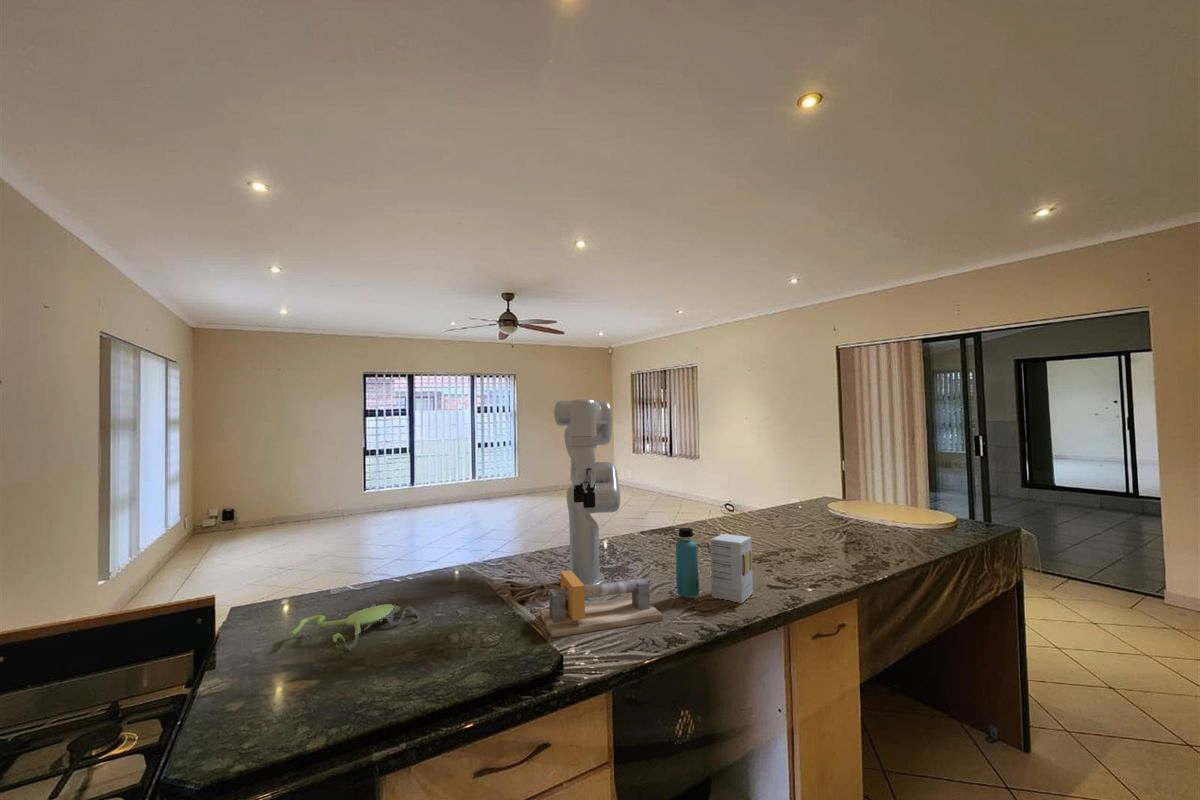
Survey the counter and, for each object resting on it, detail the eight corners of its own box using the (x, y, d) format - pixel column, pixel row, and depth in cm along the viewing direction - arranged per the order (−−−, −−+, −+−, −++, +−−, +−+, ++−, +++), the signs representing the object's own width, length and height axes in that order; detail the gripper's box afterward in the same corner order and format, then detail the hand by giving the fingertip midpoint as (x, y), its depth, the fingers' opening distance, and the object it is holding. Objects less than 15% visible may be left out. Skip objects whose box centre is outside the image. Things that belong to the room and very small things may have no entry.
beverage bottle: (699, 603, 129) (697, 531, 130) (675, 602, 130) (674, 530, 131) (699, 595, 135) (697, 526, 136) (676, 593, 136) (675, 525, 138)
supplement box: (742, 605, 127) (740, 543, 128) (711, 598, 133) (709, 538, 134) (753, 594, 135) (751, 536, 136) (723, 588, 140) (722, 532, 141)
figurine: (281, 647, 107) (282, 623, 107) (384, 607, 130) (384, 587, 131) (328, 665, 98) (328, 638, 98) (429, 619, 121) (429, 597, 122)
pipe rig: (540, 615, 122) (540, 582, 123) (640, 601, 131) (640, 570, 132) (551, 637, 109) (551, 600, 109) (662, 620, 118) (661, 585, 118)
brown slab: (560, 601, 123) (560, 571, 124) (571, 600, 124) (571, 570, 125) (573, 620, 111) (572, 586, 112) (584, 618, 112) (584, 585, 113)
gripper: (563, 442, 136) (563, 501, 135) (578, 444, 119) (579, 510, 118) (587, 442, 138) (588, 499, 137) (605, 443, 122) (607, 508, 121)
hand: (584, 504), depth 128 cm, fingers open, 9 cm apart
